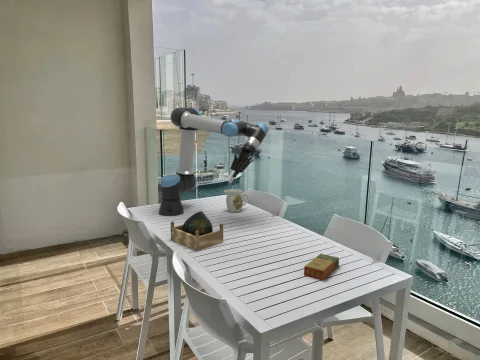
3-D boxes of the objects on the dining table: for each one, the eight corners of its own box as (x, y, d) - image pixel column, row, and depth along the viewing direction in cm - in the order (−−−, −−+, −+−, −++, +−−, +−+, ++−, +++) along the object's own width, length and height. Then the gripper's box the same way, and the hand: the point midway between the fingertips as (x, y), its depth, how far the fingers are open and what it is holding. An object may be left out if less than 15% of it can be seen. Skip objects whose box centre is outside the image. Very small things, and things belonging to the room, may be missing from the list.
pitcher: (252, 210, 224) (252, 189, 221) (228, 214, 214) (228, 192, 212) (243, 206, 233) (243, 186, 230) (219, 210, 223) (219, 189, 221)
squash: (176, 235, 160) (197, 211, 160) (177, 227, 175) (196, 204, 175) (199, 254, 163) (220, 230, 163) (198, 244, 178) (218, 222, 178)
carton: (303, 275, 134) (303, 265, 133) (319, 262, 147) (320, 252, 146) (324, 281, 129) (324, 270, 129) (339, 266, 142) (339, 256, 141)
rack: (170, 239, 171) (170, 221, 169) (196, 232, 182) (196, 215, 181) (197, 250, 157) (197, 231, 156) (223, 241, 168) (223, 223, 167)
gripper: (262, 152, 190) (241, 187, 182) (245, 150, 199) (224, 183, 191) (256, 143, 185) (234, 179, 177) (238, 141, 194) (216, 175, 186)
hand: (228, 181), depth 184 cm, fingers closed
